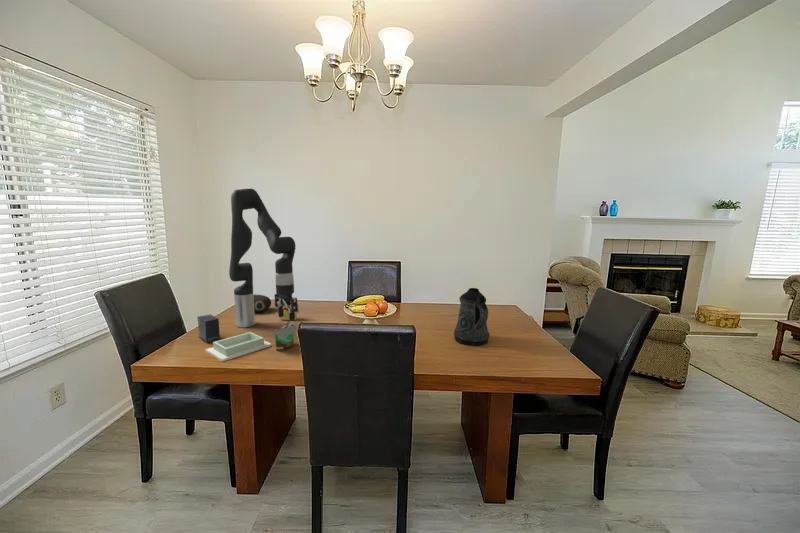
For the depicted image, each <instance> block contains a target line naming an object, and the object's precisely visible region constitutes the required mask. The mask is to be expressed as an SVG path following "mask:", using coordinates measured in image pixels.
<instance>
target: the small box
mask: <svg viewBox="0 0 800 533" xmlns="http://www.w3.org/2000/svg"><path fill="white" fill-rule="evenodd" d="M196 318H197V325H198V338H199V339H201V340H202V341H203V342H205V343H206V344H207V343H211V342H216V341H219V340H221V334H220V321H219V320H220V319H219V318H218V317H216V316H214V315H212V314H206V315H200V316H197V317H196Z"/></svg>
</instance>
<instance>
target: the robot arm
mask: <svg viewBox="0 0 800 533" xmlns="http://www.w3.org/2000/svg"><path fill="white" fill-rule="evenodd" d="M230 206H231V236H230V237H231V238H230V251H231V252H230V263H229V270H228V272H229V273H228V274H229V278H230V280H231V282H243V283H242V284H241V285H239V286H237V287H235V288H234V290H233V295H234V310H235V311H234V312H235V323H236V325H235V326H236V327H237V328H248V327H250V328H251V327H252V326H253V327H254V326H255V325H256V317H255V316H256V315H255V313H256V312H255V311H254V296H253V295H254V278H253V276H254V271H253V266H252V263H250V262H244V263H243V262H242V263H240V261H241V259H242V258H243V256H244V255H246V253H247V252H248V251H249V250H250V248H251V246H252V243H253V242H252V241H253V231H252V230H251V228H250V226H249V225H248V224H247V222H246V221H245V219H244V217H243V214H244V213H243V211H245V210H252V209H254V210H255V211H256V212H257V219H256V221H257V226H258V228H259V230H260V231H261V233H262V234H263V235H264V236H265V238H266V240H267V241H266V242H267V243H268V247H269V249H270V251H271V252H272V253H274V254H275V255H281V254H282V256H281V257H280V258H278V259H276V261H275V262H274V265H275V266H274V268H275V294H274V307H275V308H277V312H278V313H277V315H278V317H279V318H280V317H283V316H284V309H283V308H284V306H286V308H287V309H288V310H289V312H290V313H289V320H288V321H289V322H294V321H296V320H295V312H296V311H298V310H299V304H298V298H297V297H293V294H294V293H295V280H294V273H293V272H294V271H293V270H294V269H293V261H294V257H295V253H296V241H295V240H294V238H293V237H291V236H281V235H282V229H281V228H280V226H278V224H277V223H276V222H275V220H274V219H273V218H272V217H271V215H270V213H269V211H268V209H267V208H266V205H265V204H264V202H263V200H262V199H261V197H260V195H259V193H258V192H257V190H256V189H254V188H242V189H241V188H240V189H235V190H233V191H232V192H231V196H230ZM297 304H298V305H297ZM294 306H295V308H294ZM290 308H291V309H290Z"/></svg>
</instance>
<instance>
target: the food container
mask: <svg viewBox="0 0 800 533" xmlns="http://www.w3.org/2000/svg"><path fill="white" fill-rule="evenodd" d="M286 321H287V320H286ZM295 330H296V325H295V324H294V322H293V321H289V320H288V321H287V322H286V324H284V325H282V326H280V327H279V328H278V329H276V328H275V329H273V335H274V340H275V349H276V350H275V351H277V352H281V351H282V350H283V351H287V349H288V350H291V349H293V347H294V343H295V342H294V341H295V340H294V339H295Z"/></svg>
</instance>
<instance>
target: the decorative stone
mask: <svg viewBox="0 0 800 533" xmlns="http://www.w3.org/2000/svg"><path fill="white" fill-rule="evenodd" d="M253 296H254V311H255V313H258V312H259V313H261V312H264V311H267V310H268V309H270V307H271V305H272V299H270V298H269V297H268V296H266V295H263V294H253Z"/></svg>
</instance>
